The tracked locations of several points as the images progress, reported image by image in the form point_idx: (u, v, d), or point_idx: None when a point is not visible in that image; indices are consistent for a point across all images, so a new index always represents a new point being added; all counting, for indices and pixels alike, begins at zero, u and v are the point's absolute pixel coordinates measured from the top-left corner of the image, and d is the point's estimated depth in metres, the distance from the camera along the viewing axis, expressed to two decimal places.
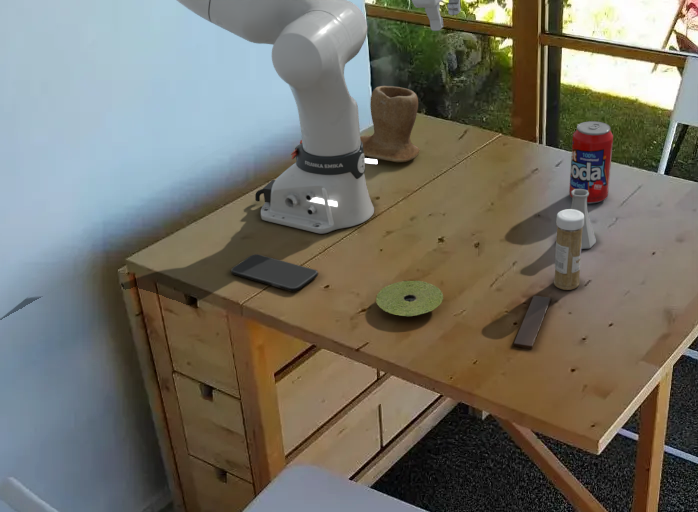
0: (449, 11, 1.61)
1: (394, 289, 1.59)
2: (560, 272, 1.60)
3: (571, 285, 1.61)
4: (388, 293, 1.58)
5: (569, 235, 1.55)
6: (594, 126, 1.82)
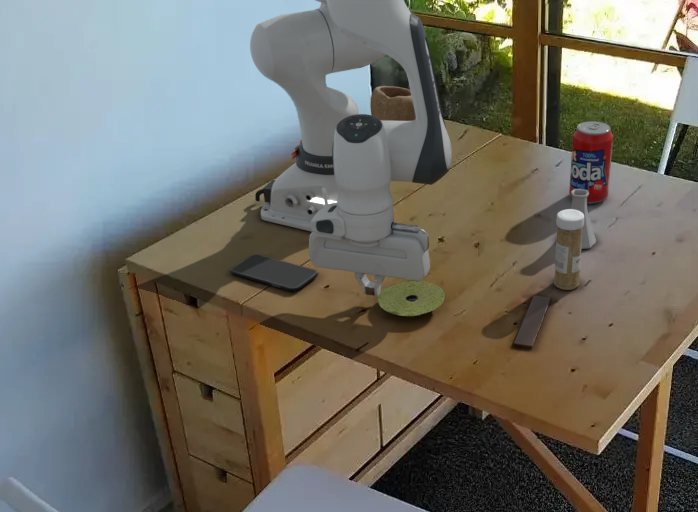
0: None
1: (395, 289, 1.59)
2: (560, 272, 1.60)
3: (571, 285, 1.61)
4: (390, 294, 1.58)
5: (569, 235, 1.55)
6: (594, 126, 1.82)
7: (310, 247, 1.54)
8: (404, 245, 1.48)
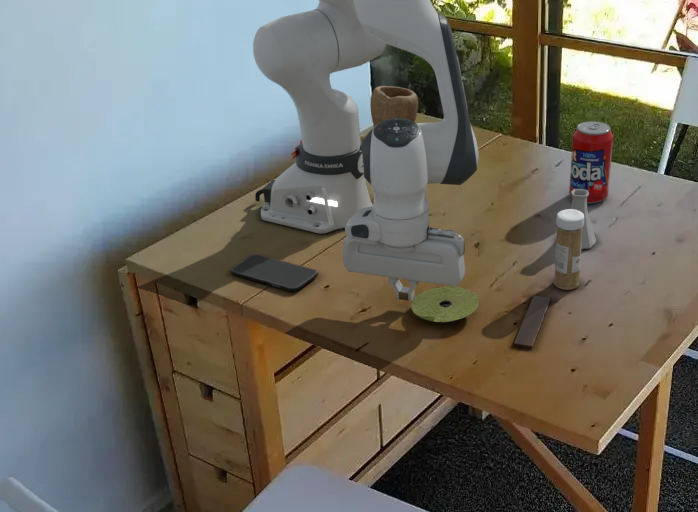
0: None
1: (429, 295, 1.57)
2: (560, 272, 1.60)
3: (571, 285, 1.61)
4: (423, 299, 1.56)
5: (569, 235, 1.55)
6: (594, 126, 1.82)
7: (344, 252, 1.52)
8: (440, 250, 1.47)
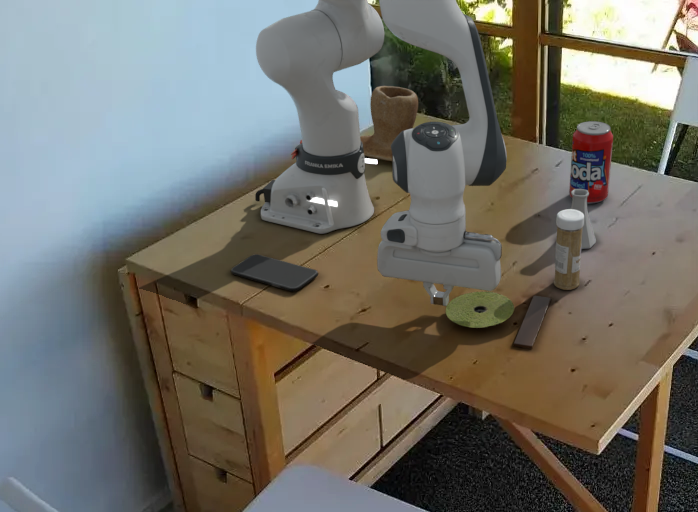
0: None
1: (464, 299, 1.56)
2: (560, 272, 1.60)
3: (571, 285, 1.61)
4: (458, 304, 1.55)
5: (569, 235, 1.55)
6: (594, 126, 1.82)
7: (379, 256, 1.51)
8: (477, 254, 1.46)
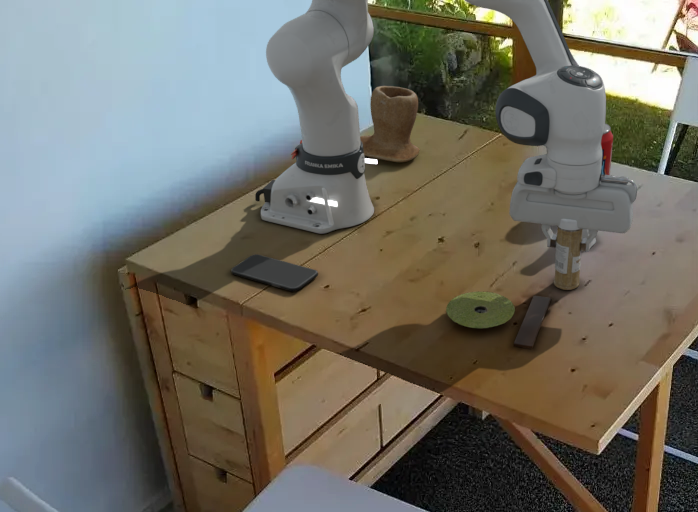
0: None
1: (465, 299, 1.56)
2: (560, 272, 1.60)
3: (571, 285, 1.61)
4: (459, 303, 1.55)
5: (569, 235, 1.55)
6: None
7: (512, 200, 1.54)
8: (613, 196, 1.49)
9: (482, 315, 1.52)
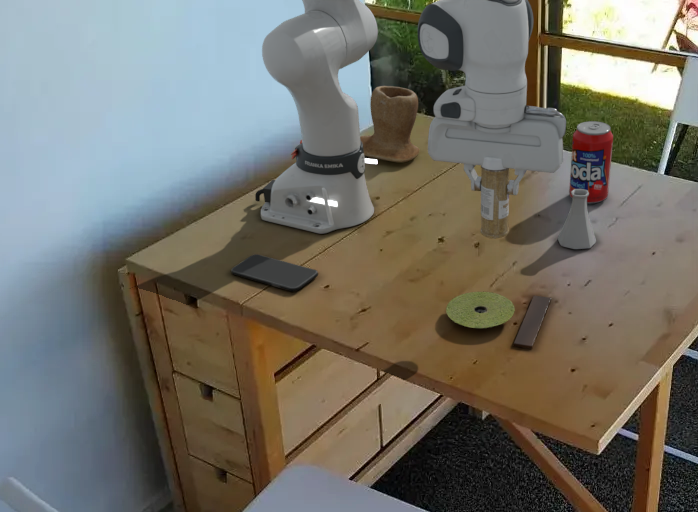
0: None
1: (465, 299, 1.56)
2: (485, 219, 1.44)
3: (499, 233, 1.45)
4: (459, 303, 1.55)
5: (494, 176, 1.40)
6: (594, 126, 1.82)
7: (430, 137, 1.39)
8: (540, 130, 1.34)
9: (482, 315, 1.52)
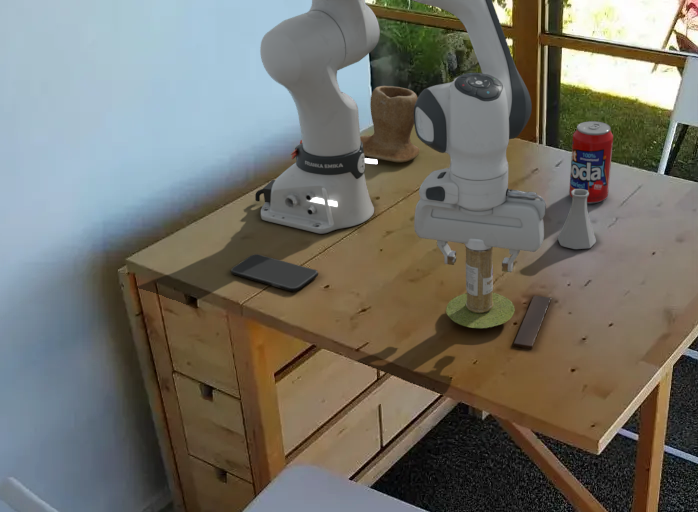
0: None
1: (465, 299, 1.56)
2: (470, 294, 1.50)
3: (483, 308, 1.51)
4: (459, 303, 1.55)
5: (477, 256, 1.46)
6: (594, 126, 1.82)
7: (416, 216, 1.45)
8: (521, 213, 1.40)
9: (482, 315, 1.52)
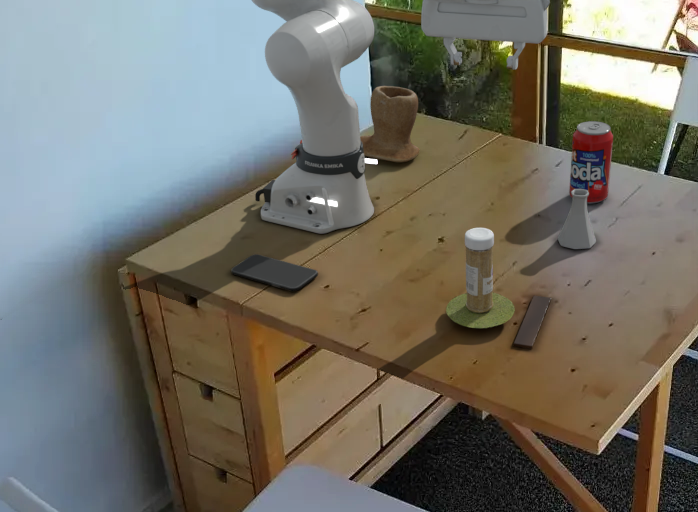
0: None
1: (465, 299, 1.56)
2: (470, 294, 1.50)
3: (483, 308, 1.51)
4: (459, 303, 1.55)
5: (477, 256, 1.46)
6: (594, 126, 1.82)
7: (423, 11, 1.48)
8: (525, 0, 1.43)
9: (482, 315, 1.52)
